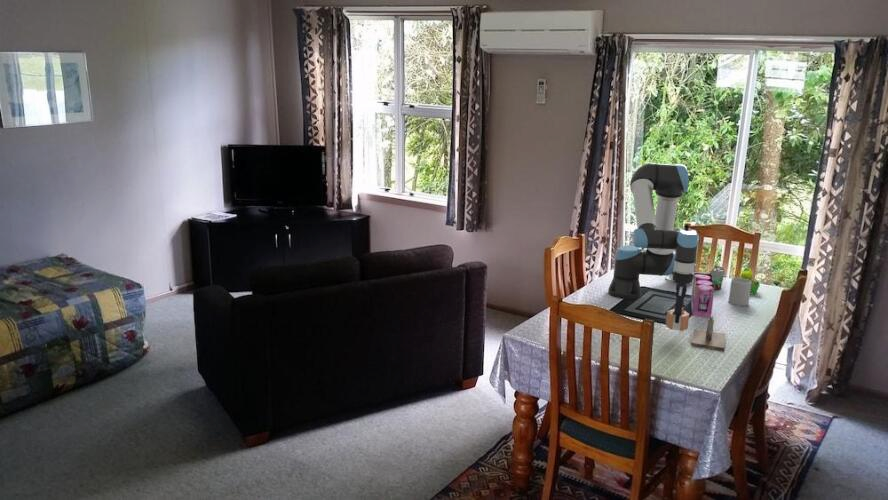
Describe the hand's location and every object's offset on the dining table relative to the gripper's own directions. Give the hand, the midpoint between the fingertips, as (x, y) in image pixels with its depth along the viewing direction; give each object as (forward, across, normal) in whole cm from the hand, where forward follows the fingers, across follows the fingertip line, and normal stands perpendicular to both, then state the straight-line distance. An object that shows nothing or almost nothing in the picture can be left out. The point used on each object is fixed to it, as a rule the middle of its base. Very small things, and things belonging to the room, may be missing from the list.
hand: (676, 326), depth 267 cm
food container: (+7, +76, -13) cm, 78 cm away
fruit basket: (+7, +78, -26) cm, 83 cm away
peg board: (+5, +2, -12) cm, 13 cm away
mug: (+7, +59, -23) cm, 64 cm away
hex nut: (0, 0, 0) cm, 0 cm away
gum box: (+6, +42, -7) cm, 43 cm away
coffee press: (+7, +78, +5) cm, 79 cm away
